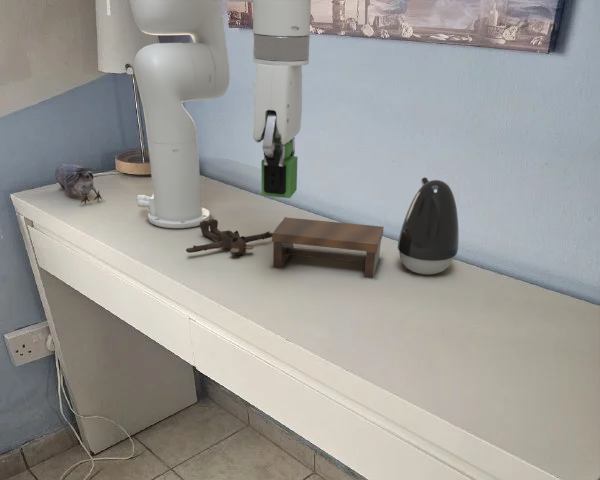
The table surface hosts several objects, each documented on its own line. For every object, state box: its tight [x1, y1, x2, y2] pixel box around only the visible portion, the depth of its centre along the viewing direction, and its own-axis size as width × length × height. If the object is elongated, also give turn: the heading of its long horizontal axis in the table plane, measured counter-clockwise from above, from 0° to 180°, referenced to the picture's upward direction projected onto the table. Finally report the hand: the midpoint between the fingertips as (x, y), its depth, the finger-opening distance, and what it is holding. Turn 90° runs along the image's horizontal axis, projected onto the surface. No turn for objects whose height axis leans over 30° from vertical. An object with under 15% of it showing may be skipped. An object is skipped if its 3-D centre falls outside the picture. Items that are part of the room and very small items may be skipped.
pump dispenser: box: [397, 177, 460, 276], centre depth 104 cm, size 10×10×15 cm
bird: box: [55, 163, 103, 205], centre depth 137 cm, size 5×16×7 cm, turn 43°
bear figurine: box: [185, 218, 273, 256], centre depth 114 cm, size 18×4×14 cm
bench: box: [271, 216, 384, 279], centre depth 108 cm, size 18×9×6 cm, turn 77°
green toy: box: [260, 138, 299, 199], centre depth 91 cm, size 4×4×8 cm
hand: (279, 186), depth 93 cm, fingers closed on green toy, 4 cm apart
